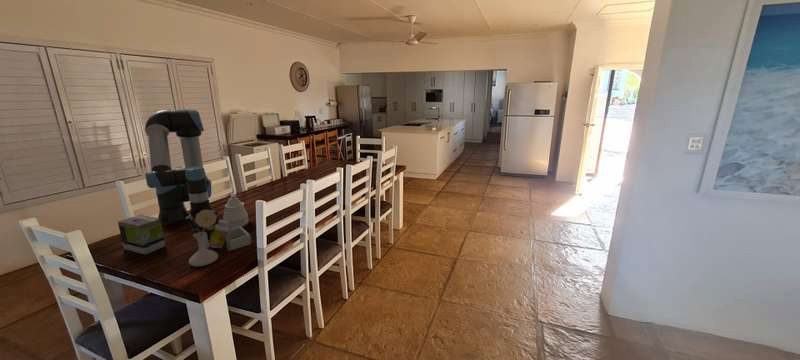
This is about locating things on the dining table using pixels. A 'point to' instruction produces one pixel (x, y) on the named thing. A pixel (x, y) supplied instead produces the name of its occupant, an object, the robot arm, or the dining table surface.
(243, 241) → the open rectangular box
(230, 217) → the honey pot
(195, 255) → the flower in vase
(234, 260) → the dining table surface
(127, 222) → the tea box
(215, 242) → the supplement bottle
